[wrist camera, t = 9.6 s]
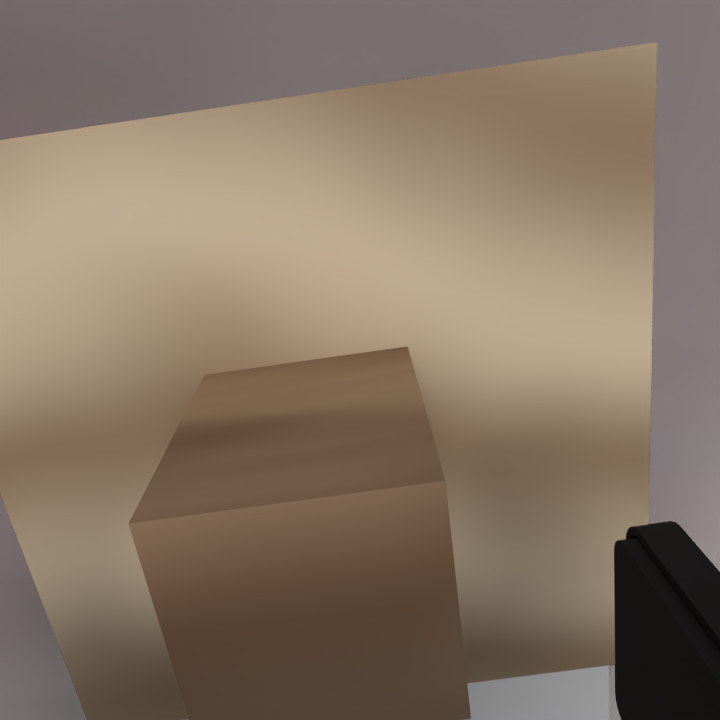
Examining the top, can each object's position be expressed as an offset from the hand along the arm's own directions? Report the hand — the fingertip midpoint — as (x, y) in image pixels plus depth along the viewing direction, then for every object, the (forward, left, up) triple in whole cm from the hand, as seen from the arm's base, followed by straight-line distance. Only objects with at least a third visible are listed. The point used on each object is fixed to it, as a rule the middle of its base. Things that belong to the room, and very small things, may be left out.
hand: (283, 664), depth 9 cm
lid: (0, 0, -6) cm, 6 cm away
